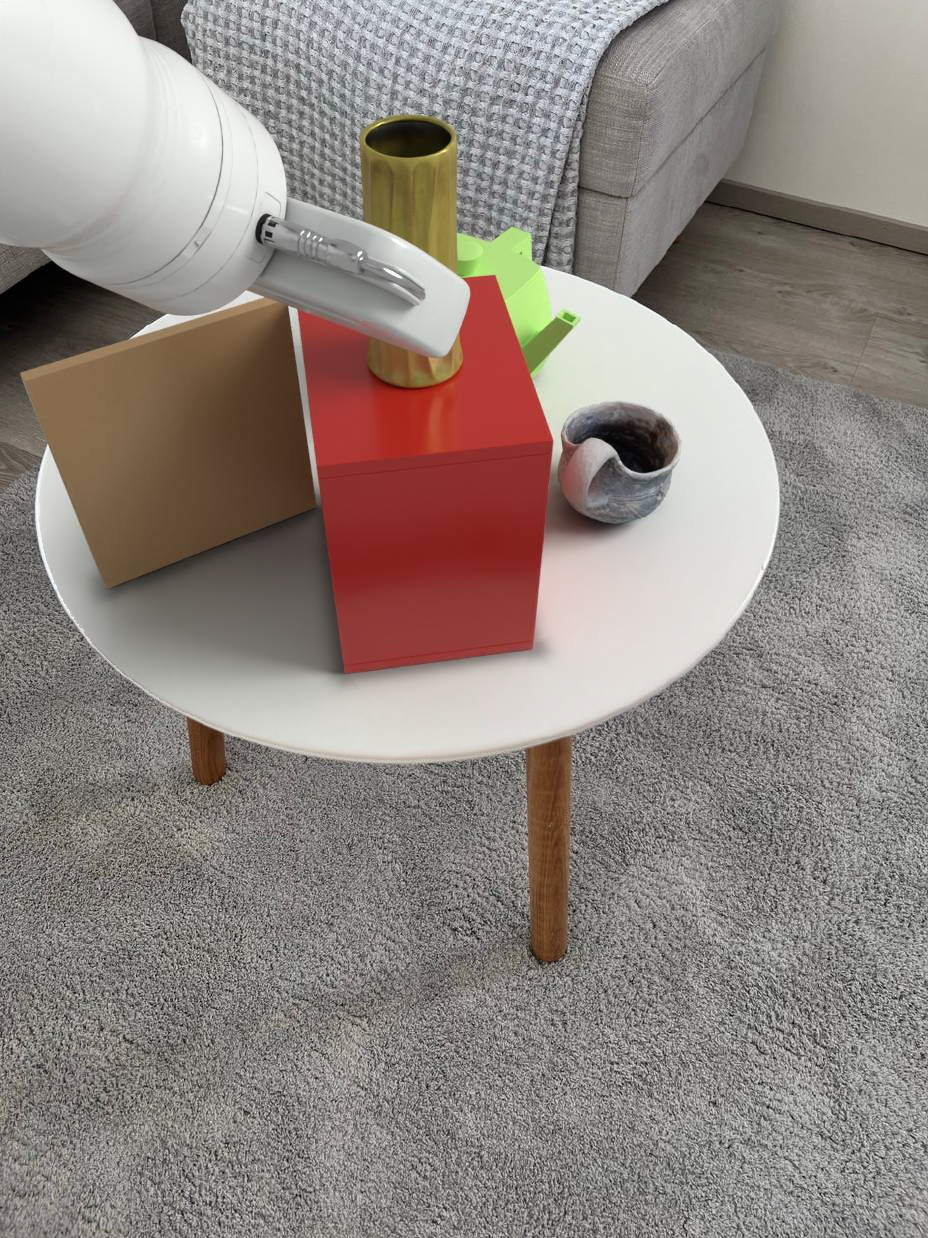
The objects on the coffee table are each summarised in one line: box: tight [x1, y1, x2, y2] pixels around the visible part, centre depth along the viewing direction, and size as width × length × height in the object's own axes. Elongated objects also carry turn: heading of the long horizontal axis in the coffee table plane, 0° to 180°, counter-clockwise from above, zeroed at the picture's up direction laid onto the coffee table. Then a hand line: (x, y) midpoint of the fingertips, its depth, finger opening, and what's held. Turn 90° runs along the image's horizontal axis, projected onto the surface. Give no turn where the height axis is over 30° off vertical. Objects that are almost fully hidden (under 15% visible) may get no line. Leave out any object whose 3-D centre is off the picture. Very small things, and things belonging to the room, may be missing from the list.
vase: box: [358, 114, 463, 388], centre depth 59 cm, size 6×6×14 cm
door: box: [19, 297, 317, 590], centre depth 76 cm, size 6×18×20 cm, turn 121°
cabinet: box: [296, 275, 554, 674], centre depth 73 cm, size 14×18×20 cm
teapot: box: [457, 226, 582, 381], centre depth 91 cm, size 18×20×13 cm
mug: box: [557, 400, 682, 525], centre depth 81 cm, size 10×12×10 cm
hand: (332, 292), depth 53 cm, fingers open, 8 cm apart
